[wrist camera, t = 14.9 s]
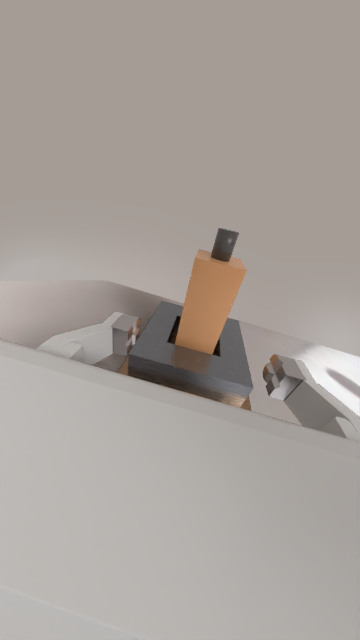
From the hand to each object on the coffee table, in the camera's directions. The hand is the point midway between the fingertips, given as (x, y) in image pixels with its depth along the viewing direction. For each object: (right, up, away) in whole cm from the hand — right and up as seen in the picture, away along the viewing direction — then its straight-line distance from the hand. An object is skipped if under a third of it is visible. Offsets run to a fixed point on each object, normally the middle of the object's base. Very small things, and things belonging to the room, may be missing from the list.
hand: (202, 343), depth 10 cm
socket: (0, -3, +13) cm, 13 cm away
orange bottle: (0, -3, +12) cm, 12 cm away
